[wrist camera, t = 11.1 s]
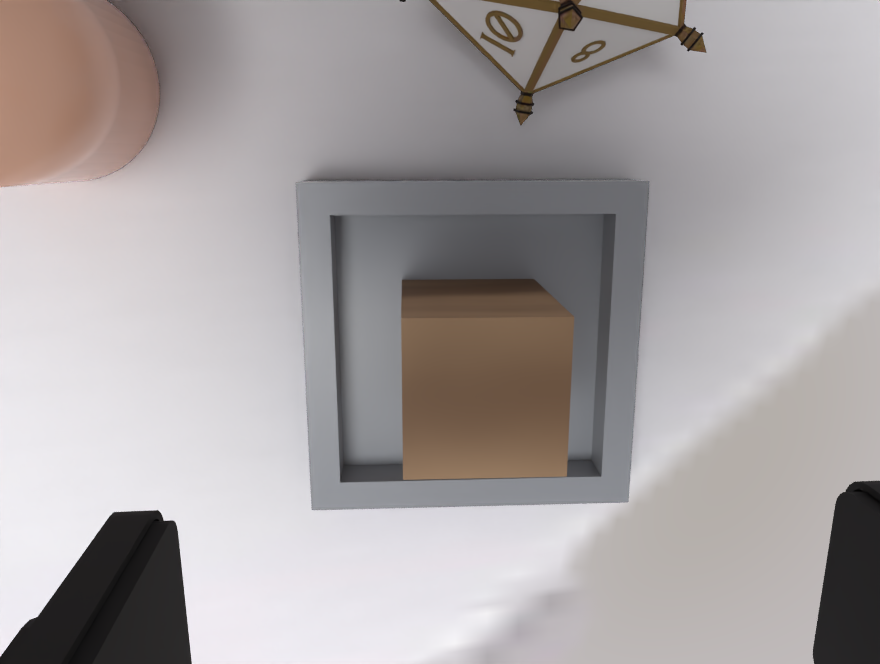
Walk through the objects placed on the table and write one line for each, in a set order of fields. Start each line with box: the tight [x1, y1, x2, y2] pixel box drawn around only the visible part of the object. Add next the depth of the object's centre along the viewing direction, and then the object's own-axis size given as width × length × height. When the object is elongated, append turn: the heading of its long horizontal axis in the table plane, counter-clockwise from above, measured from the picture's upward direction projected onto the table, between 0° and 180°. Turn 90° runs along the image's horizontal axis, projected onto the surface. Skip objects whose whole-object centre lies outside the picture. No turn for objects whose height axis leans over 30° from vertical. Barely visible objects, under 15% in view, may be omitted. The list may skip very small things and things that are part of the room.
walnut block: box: [401, 279, 574, 480], centre depth 22 cm, size 4×4×6 cm
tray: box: [296, 179, 649, 510], centre depth 25 cm, size 11×11×2 cm
